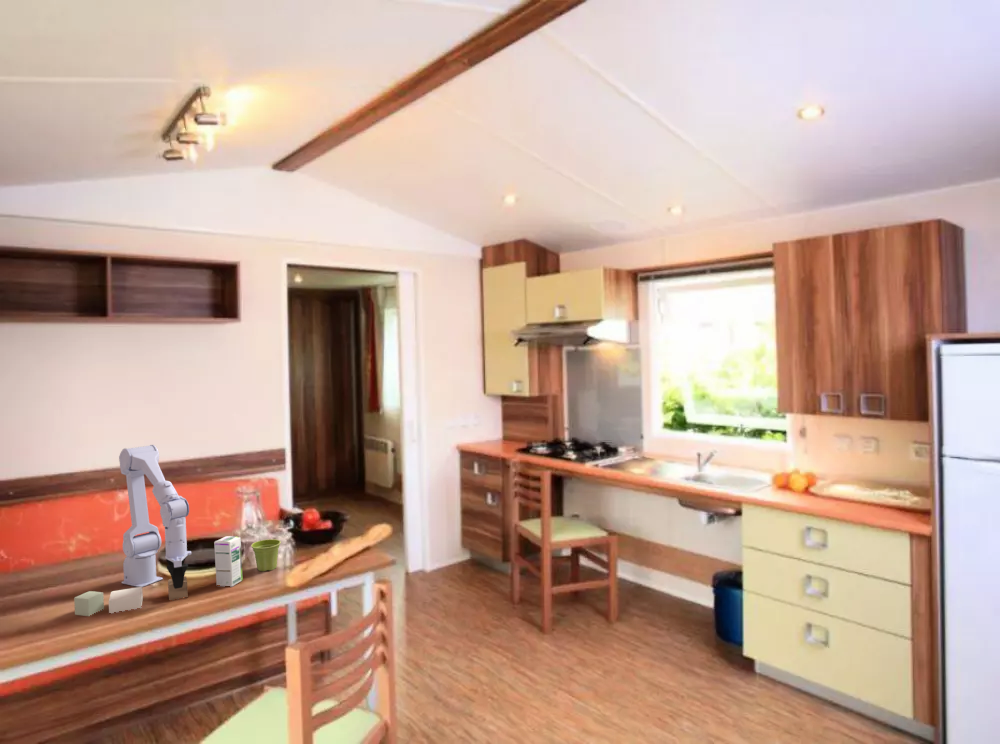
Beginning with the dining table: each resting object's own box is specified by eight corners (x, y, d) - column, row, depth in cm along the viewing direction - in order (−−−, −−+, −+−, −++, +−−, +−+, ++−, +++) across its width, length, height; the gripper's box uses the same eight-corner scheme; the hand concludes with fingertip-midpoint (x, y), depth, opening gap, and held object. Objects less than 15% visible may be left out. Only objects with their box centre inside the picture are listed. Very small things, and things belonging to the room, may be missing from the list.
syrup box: (232, 587, 202) (230, 541, 202) (215, 586, 204) (213, 540, 203) (243, 580, 208) (241, 536, 207) (226, 579, 209) (225, 535, 209)
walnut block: (168, 595, 197) (167, 579, 196) (186, 592, 199) (186, 576, 199) (169, 601, 192) (168, 584, 192) (187, 597, 195) (187, 581, 194)
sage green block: (74, 614, 184) (74, 597, 183) (90, 607, 188) (89, 591, 188) (89, 616, 182) (88, 599, 182) (104, 609, 187) (103, 592, 187)
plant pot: (268, 574, 213) (267, 548, 213) (246, 571, 216) (245, 546, 216) (287, 565, 222) (286, 540, 221) (265, 562, 225) (264, 538, 225)
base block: (112, 604, 191) (111, 591, 191) (142, 599, 194) (142, 586, 194) (109, 614, 184) (108, 600, 184) (141, 609, 187) (140, 595, 187)
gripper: (192, 543, 191) (194, 588, 191) (189, 531, 203) (190, 574, 204) (165, 547, 187) (167, 593, 188) (163, 535, 200) (165, 578, 200)
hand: (177, 583), depth 195 cm, fingers open, 7 cm apart
